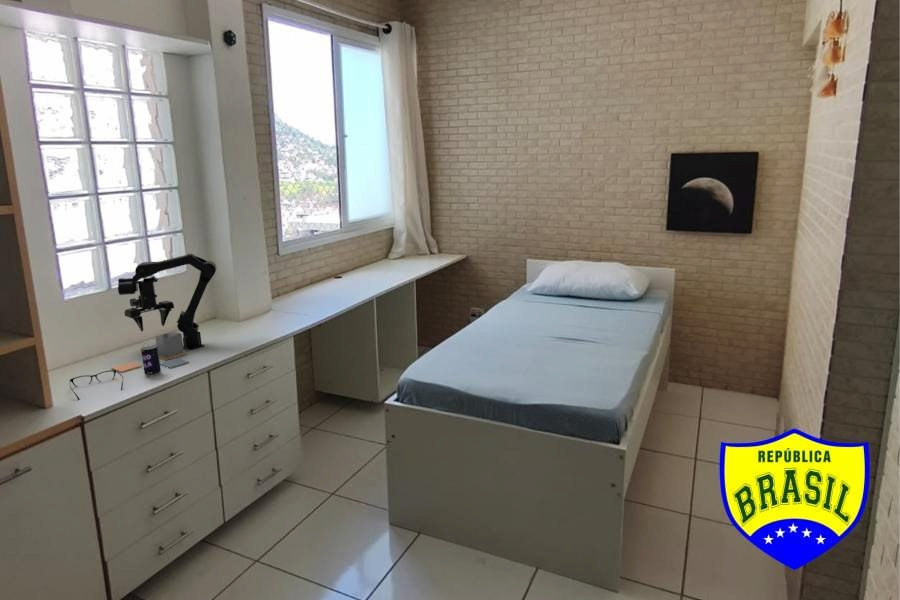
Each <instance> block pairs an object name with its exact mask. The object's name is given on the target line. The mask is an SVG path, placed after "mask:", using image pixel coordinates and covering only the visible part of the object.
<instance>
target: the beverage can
mask: <svg viewBox="0 0 900 600" xmlns="http://www.w3.org/2000/svg"><path fill="white" fill-rule="evenodd" d="M140 353H141V359H142V368H143V373H144V374H145V376H146V377H154V375H156V376H158V375H160V373H161V372H162V371H161V365H160V363H161V362H160V359H159V354H158V347H157V345H156V342H145V343H143V344H142V345H141V346H140ZM157 374H158V375H157Z"/></svg>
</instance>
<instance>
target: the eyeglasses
mask: <svg viewBox="0 0 900 600" xmlns="http://www.w3.org/2000/svg"><path fill="white" fill-rule="evenodd" d="M108 372H112V373H113V377H112V379H111V380H114V379H115V377H116V374H119V375H120V376H121V377H122V379H124V377H123V375H122V373H120V372H118V371H116V370H113V369H111V370H105V371H101V372H98V373H96V374H91V375H79V376H75V377H73V378H69V379H70V380H69V383H72V385H74V387H75V388H78V387H79V386H78V385H76V384H75V382H74V380H75V379H78V378H83V377H90V381H89V383H88V385H90V384H91V383H92V382H93V378H94V377H95V379H96V381H97V382H98V381H99V383H101V382H102V381H101V380H100V379H99V378H98V376H99V375H101V374H103V373H108ZM123 385H124V380H122V381H121V387H120V391H121V390H122V391H123V387H124V386H123ZM69 388H70V389H71V391H72V392H73V394H74V395H75V397H76V398H77V400H78V401H80V400H81V398H79V396H78V394H77V393H76V392H75V391H74V390H73V388H72V386H71V385H69Z"/></svg>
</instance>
